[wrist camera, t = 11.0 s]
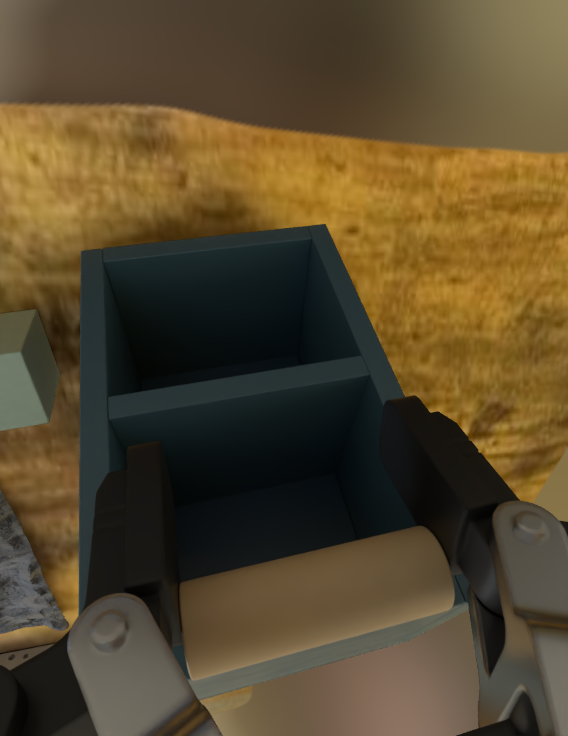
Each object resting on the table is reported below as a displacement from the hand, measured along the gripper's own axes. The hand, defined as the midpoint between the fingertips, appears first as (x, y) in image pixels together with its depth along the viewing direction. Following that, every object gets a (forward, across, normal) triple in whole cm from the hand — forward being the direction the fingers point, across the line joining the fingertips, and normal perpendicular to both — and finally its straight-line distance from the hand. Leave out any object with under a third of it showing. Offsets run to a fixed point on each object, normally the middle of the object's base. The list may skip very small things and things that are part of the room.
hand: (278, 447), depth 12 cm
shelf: (+9, 0, +12) cm, 15 cm away
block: (+18, +12, +6) cm, 23 cm away
